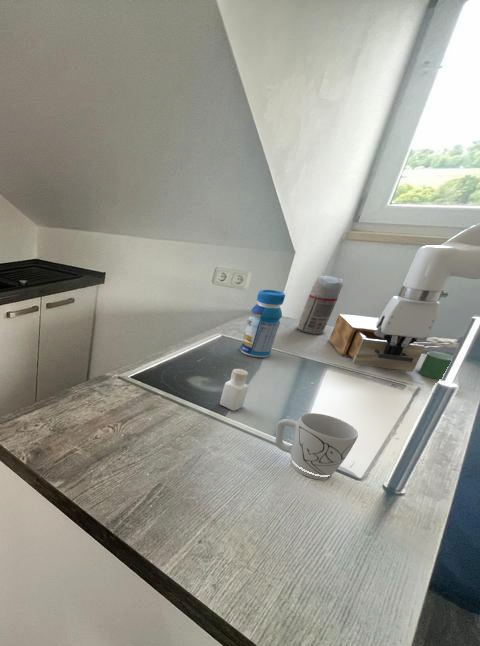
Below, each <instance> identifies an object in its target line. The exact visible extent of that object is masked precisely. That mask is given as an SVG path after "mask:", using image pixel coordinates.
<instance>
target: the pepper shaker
mask: <svg viewBox="0 0 480 646" xmlns="http://www.w3.org/2000/svg"><path fill="white" fill-rule="evenodd" d="M231 371H232V372H231V375H230V380H228V381H226V382H225V383H224V385H223V389H222V392H221V397H220V401H219V405H220V406H223V407H225V408H226V409H228V410H231V411H237V410H239V409H242V408H243V406H244V403H245V400H246V397H247V393H248V390H249V385H248V384H247V383H246V381H247V379H248V376H249V372H248V371H246V370H245V369H242V368H233V370H231Z"/></svg>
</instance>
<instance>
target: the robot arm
mask: <svg viewBox="0 0 480 646" xmlns="http://www.w3.org/2000/svg"><path fill="white" fill-rule="evenodd" d="M450 277H457V278H462V279H463V278H464V279H469V280H480V222H479V223H477V224H474V225H472V226H470V227H468V228H466V229H464V230H463V231H460V232H459V233H458V234H456V235H454V236H452V237H450V238H449V239H448V240H446V241H445V242H443V243H442V244H440V245H436V244H435V245H434V244H431V245H430V244H429V245H423V246H421V247H419V248H418V249H417V251H416V253H415V254H414V257H413V259H412V262H411V264H410V267H409V269H408V272H407V273H406V277H405V278H404V281H403V283H402V286H401V288H400V290H399V292H398V294H397V295H394V296H392V297H391V298H390V300H389V301H388V303H387V304H386V305H385V307H384V308H383V311H382V313H381V314H380V316H379V317H378V318H379V320H378V322H377V325H376V328H378V329H377V330H376V331H375V332H374V334H375V335H376V336H378V337H381V338H384V339H385V340H386V341H387V342H388V344H387V346H386V348H385V351H384V354H392V355H400V354H401V352H402V350H403V348H404V347H407V345H409V344H411V343H414V342H416V343H422V342H423V343H424V342H427V341H428V337H429V336H430V335H431V333H432V331H433V329H434V327H435V325H436V321H437V318H438V315H439V312H440V305H441V302H440V300H441V298H442V299H443V298H447V297H448V296H449V292H448V291H447V292H446V291H445V290H444V289H445V288H446V285H447V283H448V281H449V278H450ZM398 336H401V337H400V339H399V340H398V342H397V338H398ZM396 342H397V343H396Z"/></svg>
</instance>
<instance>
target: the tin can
mask: <svg viewBox="0 0 480 646" xmlns="http://www.w3.org/2000/svg"><path fill="white" fill-rule="evenodd" d="M453 356H454V355H452V354H449V353H445V352H441V351H428V352H427V354H426V356H425V357H424V360H423V362H422V363H421V366H420V368H419V370H418V373H419V374H420V375H422V376H424V377H427V378H431V379H437V380H443V379H442V377H443V374H444V373H445V371H446V369H447V367H448V366H449V364H450V362H451V360H452V358H453Z"/></svg>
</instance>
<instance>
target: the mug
mask: <svg viewBox="0 0 480 646" xmlns="http://www.w3.org/2000/svg"><path fill="white" fill-rule="evenodd" d="M287 426H288V427H291V428H292V429H293V430H294V437H293V440H292V445H287V444H285V443H284V441H283V439H284V433H285V432H284V431H285V428H286V427H287ZM358 437H359V433H358V431H357V429H356V428H354V426H353V425H351V424H349V423H348V422H346V421H344V420H342V419H339V418H337V417H334V416H331V415H327V414H322V413H315V412H309V413H304V414H302V415H300V417H299V419H298V421H297V420H296V419H295V420H294V419H291V418H283V419H280V420H279V421H278V422H277V424H276V428H275V439H274V440H275V441H274V442H275V445H276V448H278V449H279V450H281V451H282V452H285V453H288V454H290V459H291V458H292V460H293V461H294V462H295V463H296V464H297V465H298V466H299V467H302V468H303V469H305V470H307V471H309V472H312V473H314V474H319V475H331V476H328V477H320V476H315V475H312V474H309V473H307V472H304V471H302V470H301V469H299V468H298V467H296V466H295V465H294V464H293V463H292V461H291V460H290V465H291V466H292V468H293V469H294V470H296V472H298V473H299V474H300V475H303V476H305V477H307V478H310V479H314V480H319V481H320V480H321V481H323V480H327V479H330V478H331V477H332V476H333V475H334V473H335V472H336V471H337V470H338V468H339V467H340V466H341V465H342V463H343V462H344V461H345V460H346V459H347V456H348V455H349V454H350V451H351V450H352V448H353V446H354V445H355V443H356V441H357V439H358ZM332 474H333V475H332Z"/></svg>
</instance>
